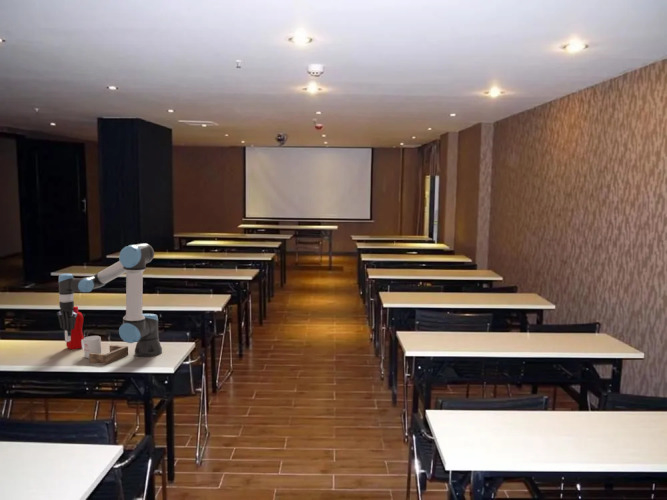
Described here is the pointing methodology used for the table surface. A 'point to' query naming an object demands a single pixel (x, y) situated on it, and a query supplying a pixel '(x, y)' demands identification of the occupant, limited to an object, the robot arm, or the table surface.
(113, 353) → the dock
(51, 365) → the table surface
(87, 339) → the mug
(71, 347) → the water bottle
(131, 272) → the robot arm
